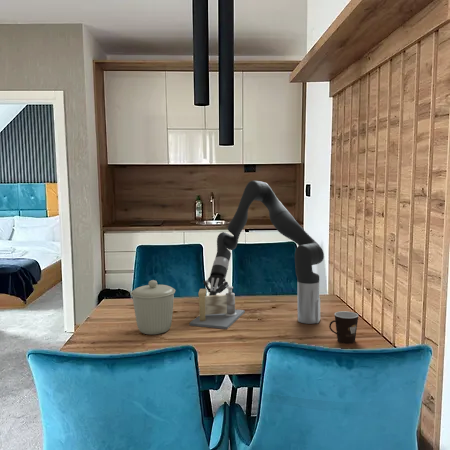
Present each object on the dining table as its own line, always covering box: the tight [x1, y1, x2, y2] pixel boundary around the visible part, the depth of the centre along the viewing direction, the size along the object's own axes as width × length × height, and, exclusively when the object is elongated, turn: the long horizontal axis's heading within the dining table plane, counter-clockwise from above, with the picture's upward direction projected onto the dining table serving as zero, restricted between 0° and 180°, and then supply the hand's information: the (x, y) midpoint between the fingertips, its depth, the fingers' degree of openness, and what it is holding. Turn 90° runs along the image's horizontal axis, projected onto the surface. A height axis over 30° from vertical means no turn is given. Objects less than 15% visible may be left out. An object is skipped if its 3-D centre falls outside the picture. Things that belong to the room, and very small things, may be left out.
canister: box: [130, 279, 176, 335], centre depth 184 cm, size 18×18×21 cm
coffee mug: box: [328, 310, 359, 345], centre depth 168 cm, size 12×9×10 cm
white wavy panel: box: [205, 292, 236, 315], centre depth 199 cm, size 15×4×9 cm, turn 98°
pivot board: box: [188, 285, 246, 330], centre depth 198 cm, size 17×24×14 cm
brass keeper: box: [198, 288, 208, 321], centre depth 196 cm, size 8×3×13 cm, turn 178°
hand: (211, 299), depth 207 cm, fingers closed
